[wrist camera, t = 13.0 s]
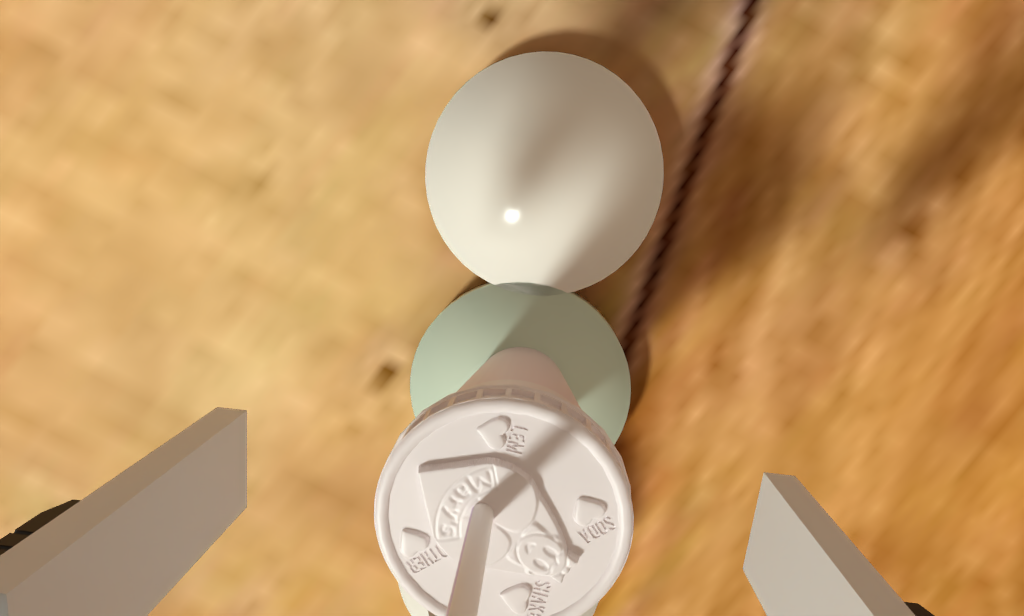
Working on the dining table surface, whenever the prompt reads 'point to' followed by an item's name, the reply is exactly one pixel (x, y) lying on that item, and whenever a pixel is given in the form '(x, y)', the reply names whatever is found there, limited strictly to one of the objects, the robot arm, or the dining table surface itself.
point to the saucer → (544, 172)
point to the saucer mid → (532, 324)
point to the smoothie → (505, 498)
